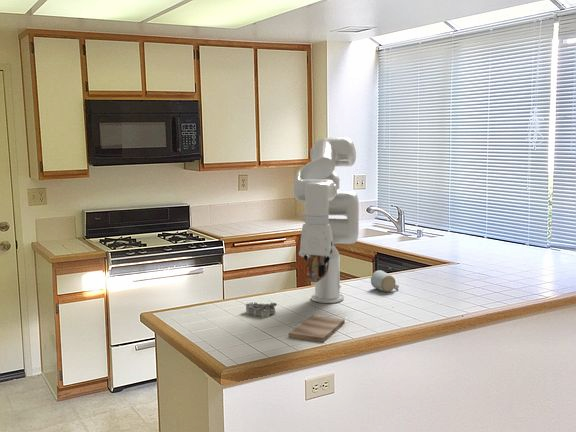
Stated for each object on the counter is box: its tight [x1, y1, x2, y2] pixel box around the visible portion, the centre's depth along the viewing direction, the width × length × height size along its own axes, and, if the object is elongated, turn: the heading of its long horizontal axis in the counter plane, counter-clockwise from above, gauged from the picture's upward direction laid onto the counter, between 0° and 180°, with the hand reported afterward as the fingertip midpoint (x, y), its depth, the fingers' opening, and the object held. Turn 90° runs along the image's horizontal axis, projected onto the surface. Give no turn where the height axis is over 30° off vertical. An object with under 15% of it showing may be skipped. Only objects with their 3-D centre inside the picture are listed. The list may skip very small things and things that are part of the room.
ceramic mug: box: [370, 269, 400, 293], centre depth 259 cm, size 11×8×8 cm
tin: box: [305, 256, 329, 283], centre depth 207 cm, size 15×3×8 cm, turn 156°
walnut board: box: [288, 314, 346, 343], centre depth 210 cm, size 20×12×2 cm, turn 156°
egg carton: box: [244, 302, 278, 318], centre depth 230 cm, size 11×8×4 cm
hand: (317, 275), depth 208 cm, fingers closed on tin, 2 cm apart
